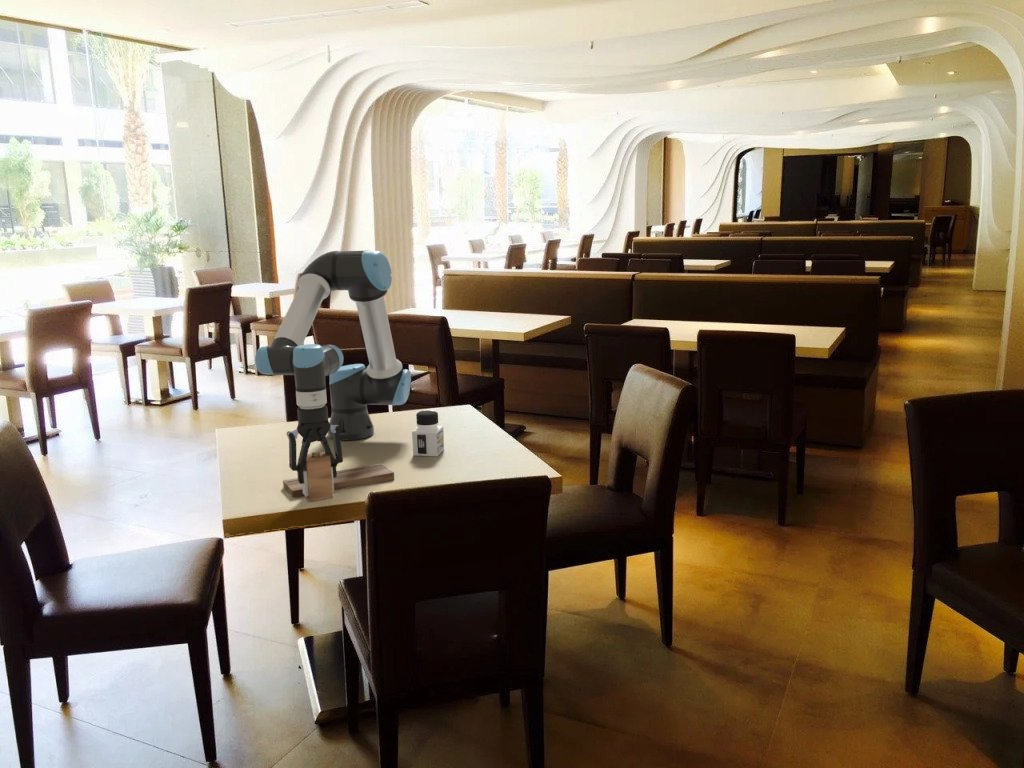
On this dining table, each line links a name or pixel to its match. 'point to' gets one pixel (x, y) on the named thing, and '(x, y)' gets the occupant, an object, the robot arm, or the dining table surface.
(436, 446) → the container
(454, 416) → the dining table surface
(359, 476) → the board
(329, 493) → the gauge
